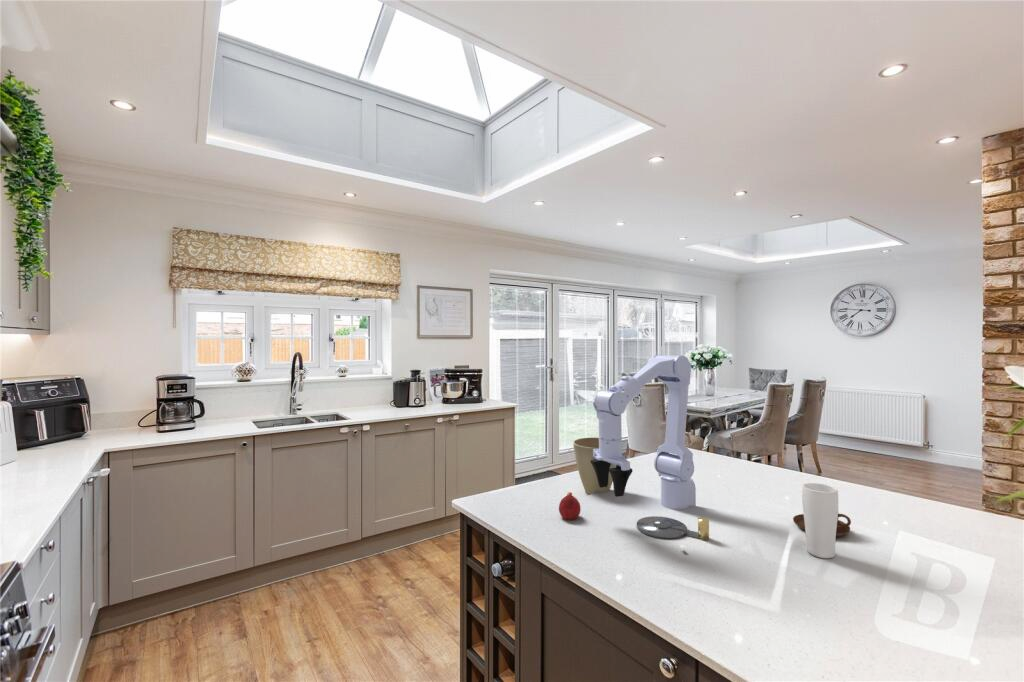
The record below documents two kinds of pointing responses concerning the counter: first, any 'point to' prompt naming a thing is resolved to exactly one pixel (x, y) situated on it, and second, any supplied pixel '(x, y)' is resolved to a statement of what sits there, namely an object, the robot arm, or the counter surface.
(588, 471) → the plant pot
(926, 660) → the counter surface
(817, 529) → the drinking glass
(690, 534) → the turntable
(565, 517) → the onion
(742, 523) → the counter surface
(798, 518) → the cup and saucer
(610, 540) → the counter surface
